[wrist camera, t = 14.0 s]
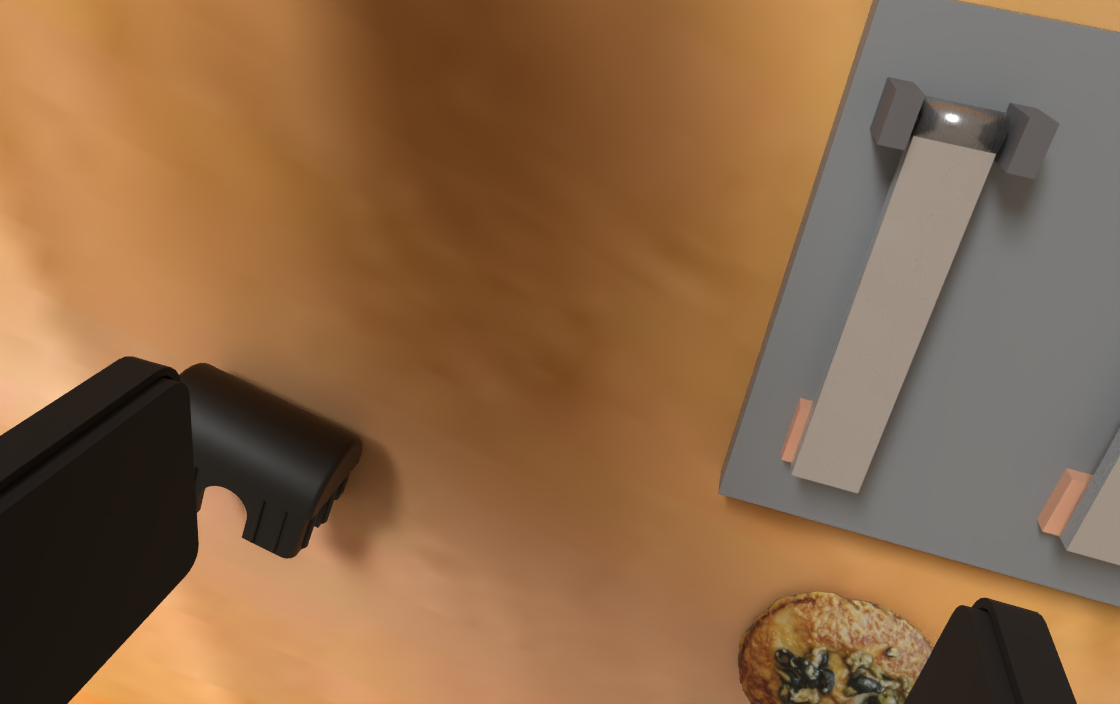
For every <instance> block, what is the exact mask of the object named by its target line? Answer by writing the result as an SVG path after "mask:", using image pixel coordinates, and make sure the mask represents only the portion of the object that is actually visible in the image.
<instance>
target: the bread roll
mask: <svg viewBox="0 0 1120 704" xmlns="http://www.w3.org/2000/svg"><path fill="white" fill-rule="evenodd" d="M739 648H740V653H739V656H738V666H739V673H740V683H741V684H742V687H743V691H744V692H745V694H746V696H747V697H748V699H749V701H750V702H751V704H904V702H905V700H906V698H907V696H908V695H909V693H910V691H911V689H912V687H913V685H914V683H915V682H916V680H917V678H918V676H919V674H920V672H921V671H922V669H923V667H924V665H925V663H926V661H927V660H928V658H929V656H930V654H931V652H932V650H933V648H934V647H931V646H930V644H929V642H928V641H927V639H926V638H925V637H924V636H923V635H922V633H921V632H920V631H919V630H918V629H917V628H916V627H915V626H913V625H911V624H910V623H909V622H908V621H907V620H906V619H904V618H902V617H900V616H899V615H897V613H896V612H894V611H893V610H890V609H888V608H887V607H885V606H881V605H878V604H875V603H871V602H867V601H863V600H855V599H846V598H842V597H839V596H837V595H836V594H834V593H824V592H810V593H804V594H799V595H794V596H790V597H784V598H782V599H778V600H776V601H775V603H774V604H773V605H772V606H771V607H770V608H768V609H767V610H766V611H765V612H763V613H762V614H760V615H759V616H757V617H756V618H755V619H754V621H753V624H752V626H751V627H750V628H749V629H748V630H747V631H746V633H745V635H743V636H742V638H741V641H740V645H739Z"/></svg>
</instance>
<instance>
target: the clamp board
mask: <svg viewBox="0 0 1120 704" xmlns="http://www.w3.org/2000/svg"><path fill="white" fill-rule="evenodd" d="M925 96H930V97H934V98H939V99H944V100H949V101H953V102H958V103H963V104H967V105H972V106H977V107H982V108H986V109H991V110H996V111H1001V112H1005V113H1009V114H1010V124H1009V128H1008V132H1007V135H1006V137H1005V140H1004V142H1003V144H1002V146H1001V148H1000V150H999V151H998V152H997V154H996V156H995V158H994V161H993V163H992V166H991V168H990V170H989V173H988V175H987V178H986V180H985V183H984V185H983V188H982V190H981V193H980V195H979V197H978V200H977V202H976V205H975V207H974V210H973V212H972V215H971V217H970V220H969V222H968V224H967V227H966V229H965V232H964V234H963V237H962V239H961V242H960V244H959V247H958V249H957V252H956V254H955V256H954V259H953V261H952V264H951V266H950V269H949V271H948V274H947V276H946V279H945V281H944V283H943V286H942V288H941V291H940V293H939V296H938V298H937V301H936V303H935V306H934V308H933V310H932V313H931V315H930V318H929V320H928V323H927V325H926V328H925V330H924V333H923V335H922V338H921V340H920V342H919V345H918V347H917V350H916V352H915V355H914V357H913V360H912V362H911V365H910V367H909V369H908V372H907V374H906V377H905V379H904V382H903V384H902V387H901V389H900V392H899V394H898V396H897V399H896V401H895V404H894V406H893V409H892V411H891V414H890V416H889V419H888V421H887V424H886V426H885V428H884V431H883V433H882V436H881V438H880V441H879V443H878V446H877V448H876V451H875V453H874V455H873V458H872V460H871V463H870V465H869V468H868V470H867V473H866V475H865V478H864V480H863V482H862V485H861V487H860V490H859V492H858V493H854V492H851V491H847V490H844V489H840V488H836V487H833V486H829V485H825V484H822V483H818V482H815V481H811V480H807V479H804V478H800V477H797V476H793V475H791V462H792V459H793V456H794V454H795V451H796V448H797V445H798V442H799V440H800V437H801V434H802V431H803V428H804V426H805V423H806V420H807V417H808V414H809V412H810V409H811V406H812V403H813V400H814V398H815V395H816V392H817V389H818V387H819V384H820V381H821V378H822V375H823V373H824V370H825V367H826V364H827V361H828V359H829V356H830V353H831V350H832V347H833V345H834V342H835V339H836V336H837V333H838V331H839V328H840V325H841V322H842V319H843V317H844V314H845V311H846V308H847V305H848V303H849V300H850V297H851V294H852V291H853V289H854V286H855V283H856V280H857V277H858V275H859V272H860V269H861V266H862V263H863V261H864V258H865V255H866V252H867V250H868V247H869V244H870V241H871V238H872V236H873V233H874V230H875V227H876V224H877V222H878V219H879V216H880V213H881V210H882V208H883V205H884V202H885V199H886V196H887V194H888V191H889V188H890V185H891V182H892V180H893V177H894V174H895V171H896V168H897V166H898V163H899V160H900V157H901V154H902V152H903V150H904V151H905V148H906V146H907V143H908V140H909V138H910V135H911V132H912V130H913V127H914V124H915V121H916V119H917V116H918V113H919V111H920V108H921V105H922V102H923V100H924V97H925ZM1119 428H1120V32H1116V31H1111V30H1106V29H1101V28H1096V27H1091V26H1086V25H1080V24H1075V23H1070V22H1065V21H1060V20H1055V19H1050V18H1045V17H1040V16H1035V15H1029V14H1024V13H1019V12H1014V11H1009V10H1004V9H999V8H994V7H989V6H984V5H978V4H973V3H968V2H963V1H958V0H873V2H872V6H871V9H870V12H869V15H868V18H867V21H866V24H865V27H864V30H863V33H862V37H861V40H860V43H859V46H858V49H857V52H856V55H855V58H854V61H853V64H852V68H851V71H850V74H849V77H848V80H847V83H846V86H845V89H844V92H843V95H842V99H841V102H840V105H839V108H838V111H837V114H836V117H835V120H834V123H833V126H832V129H831V133H830V136H829V139H828V142H827V145H826V148H825V151H824V154H823V157H822V160H821V164H820V167H819V170H818V173H817V176H816V179H815V182H814V185H813V188H812V191H811V195H810V198H809V201H808V204H807V207H806V210H805V213H804V216H803V219H802V222H801V226H800V229H799V232H798V235H797V238H796V241H795V244H794V247H793V250H792V253H791V257H790V260H789V263H788V266H787V269H786V272H785V275H784V278H783V281H782V284H781V288H780V291H779V294H778V297H777V300H776V303H775V306H774V309H773V312H772V315H771V318H770V322H769V325H768V328H767V331H766V334H765V337H764V340H763V343H762V346H761V349H760V353H759V356H758V359H757V362H756V365H755V368H754V371H753V374H752V377H751V380H750V384H749V387H748V390H747V393H746V396H745V399H744V402H743V405H742V408H741V411H740V415H739V418H738V421H737V424H736V427H735V430H734V433H733V436H732V439H731V442H730V446H729V449H728V452H727V455H726V458H725V461H724V464H723V467H722V470H721V476H720V485H719V493H718V494H721V495H725V496H728V497H732V498H735V499H739V500H743V501H746V502H750V503H753V504H757V505H760V506H764V507H767V508H771V509H774V510H778V511H781V512H785V513H789V514H792V515H796V516H799V517H803V518H806V519H810V520H813V521H817V522H820V523H824V524H827V525H831V526H835V527H838V528H842V529H845V530H849V531H852V532H856V533H859V534H863V535H866V536H870V537H874V538H877V539H881V540H884V541H888V542H891V543H895V544H898V545H902V546H905V547H909V548H912V549H916V550H920V551H923V552H927V553H930V554H934V555H937V556H941V557H944V558H948V559H951V560H955V561H958V562H962V563H966V564H969V565H973V566H976V567H980V568H983V569H987V570H990V571H994V572H997V573H1001V574H1004V575H1008V576H1012V577H1015V578H1019V579H1022V580H1026V581H1029V582H1033V583H1036V584H1040V585H1043V586H1047V587H1050V588H1054V589H1058V590H1061V591H1065V592H1068V593H1072V594H1075V595H1079V596H1082V597H1086V598H1089V599H1093V600H1097V601H1100V602H1104V603H1107V604H1111V605H1114V606H1118V607H1120V565H1117V564H1113V563H1110V562H1106V561H1102V560H1099V559H1095V558H1092V557H1088V556H1084V555H1081V554H1077V553H1073V552H1070V551H1066V549H1065V547H1064V545H1063V543H1062V541H1061V539H1060V535H1061V533H1062V531H1063V530H1064V528H1065V526H1066V524H1067V522H1068V520H1069V519H1070V517H1071V515H1072V513H1073V511H1074V510H1075V508H1076V506H1077V504H1078V502H1079V501H1080V499H1081V497H1082V495H1083V493H1084V492H1085V490H1086V488H1087V486H1088V484H1089V482H1090V481H1091V479H1092V477H1093V475H1094V473H1095V472H1096V470H1097V468H1098V466H1099V464H1100V463H1101V461H1102V459H1103V457H1104V455H1105V454H1106V452H1107V450H1108V448H1109V446H1110V444H1111V443H1112V441H1113V439H1114V437H1115V435H1116V434H1117V432H1118V430H1119Z"/></svg>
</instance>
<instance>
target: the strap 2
mask: <svg viewBox="0 0 1120 704" xmlns="http://www.w3.org/2000/svg"><path fill="white" fill-rule="evenodd" d="M1060 539H1061V541H1062V543H1063V545H1064V547H1065V549H1066V551H1070V552H1073V553H1077V554H1081V555H1084V556H1088V557H1092V558H1095V559H1099V560H1102V561H1106V562H1110V563H1113V564H1117V565H1120V428H1119V430H1118V432H1117V434H1116V435H1115V437H1114V439H1113V441H1112V443H1111V444H1110V446H1109V448H1108V450H1107V452H1106V454H1105V455H1104V457H1103V459H1102V461H1101V463H1100V464H1099V466H1098V468H1097V470H1096V472H1095V473H1094V475H1093V477H1092V479H1091V481H1090V482H1089V484H1088V486H1087V488H1086V490H1085V492H1084V493H1083V495H1082V497H1081V499H1080V501H1079V502H1078V504H1077V506H1076V508H1075V510H1074V511H1073V513H1072V515H1071V517H1070V519H1069V520H1068V522H1067V524H1066V526H1065V528H1064V530H1063V531H1062V533H1061V535H1060Z"/></svg>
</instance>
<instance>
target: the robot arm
mask: <svg viewBox="0 0 1120 704" xmlns="http://www.w3.org/2000/svg"><path fill="white" fill-rule="evenodd" d="M198 545H199V543H198V526H197V509H196V492H195V475H194V458H193V441H192V424H191V407H190V394H189V389H188V387H187V386H186V385H185V384H183V383H181V381H180V376H179V375H178V373H177V371H176V370H174V369H173V368H171V367H168V366H164V365H161V364H157V363H154V362H150V361H146V360H143V359H139V358H136V357H124V358H121V359H119V360H117V361H116V362H114V363H112V364H111V365H109V366H108V367H106V368H105V369H103V370H102V371H100V372H99V373H97V374H95V375H94V376H92V377H91V378H89V379H88V380H86V381H85V382H83V383H81V384H80V385H78V386H77V387H75V388H74V389H72V390H71V391H69V392H68V393H66V394H64V395H63V396H61V397H60V398H58V399H57V400H55V401H54V402H52V403H51V404H49V405H47V406H46V407H44V408H43V409H41V410H40V411H38V412H37V413H35V414H33V415H32V416H30V417H29V418H27V419H26V420H24V421H23V422H21V423H20V424H18V425H16V426H15V427H13V428H12V429H10V430H9V431H7V432H6V433H4V434H2V435H1V436H0V704H68V703H69V701H70V700H71V699H72V698H73V697H74V696H75V695H76V694H77V693H78V692H79V691H80V690H81V688H82V687H83V686H84V685H85V684H86V683H87V682H88V681H89V680H90V679H91V678H92V677H93V675H94V674H95V673H96V672H97V671H98V670H99V669H100V668H101V667H102V666H103V665H104V664H105V663H106V661H107V660H108V659H109V658H110V657H111V656H112V655H113V654H114V653H115V652H116V651H117V650H118V648H119V647H120V646H121V645H122V644H123V643H124V642H125V641H126V640H127V639H128V638H129V637H130V636H131V634H132V633H133V632H134V631H135V630H136V629H137V628H138V627H139V626H140V625H141V624H142V623H143V621H144V620H145V619H146V618H147V617H148V616H149V615H150V614H151V613H152V612H153V611H154V610H155V608H156V607H157V606H158V605H159V604H160V603H161V602H162V601H163V600H164V599H165V598H166V597H167V596H168V594H169V593H170V592H171V591H172V590H173V589H174V588H175V587H176V586H177V585H178V584H179V583H180V581H181V580H182V579H183V578H184V577H185V576H186V575H187V574H188V572H189V571H190V569H191V568H192V566H193V564H194V562H195V559H196V557H197V553H198ZM904 704H1077V703H1076V700H1075V698H1074V695H1073V692H1072V690H1071V687H1070V684H1069V682H1068V679H1067V677H1066V674H1065V671H1064V669H1063V666H1062V663H1061V661H1060V658H1059V656H1058V653H1057V650H1056V648H1055V645H1054V643H1053V640H1052V637H1051V635H1050V632H1049V629H1048V627H1047V624H1046V622H1045V620H1044V619H1043V617H1042V616H1041V615H1040V614H1039V613H1037V612H1034V611H1031V610H1027V609H1024V608H1020V607H1017V606H1013V605H1010V604H1006V603H1003V602H999V601H995V600H992V599H988V598H980V599H979V600H978V601H976V602H975V603H974V605H973V606H972V608H971V607H968V606H964V605H960V606H959V607H957V608H956V609H955V611H954V612H953V614H952V615H951V617H950V619H949V621H948V623H947V625H946V626H945V628H944V630H943V632H942V634H941V636H940V637H939V639H938V641H937V643H936V645H935V647H934V648H933V650H932V652H931V654H930V656H929V658H928V660H927V661H926V663H925V665H924V667H923V669H922V671H921V672H920V674H919V676H918V678H917V680H916V682H915V683H914V685H913V687H912V689H911V691H910V693H909V695H908V696H907V698H906V700H905V702H904Z"/></svg>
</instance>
